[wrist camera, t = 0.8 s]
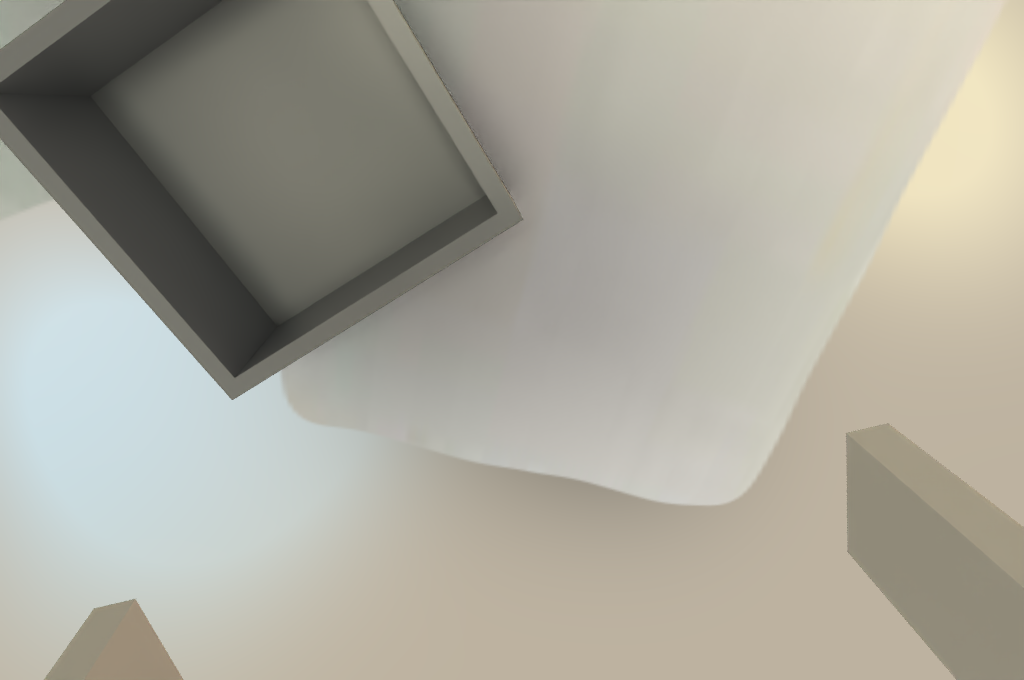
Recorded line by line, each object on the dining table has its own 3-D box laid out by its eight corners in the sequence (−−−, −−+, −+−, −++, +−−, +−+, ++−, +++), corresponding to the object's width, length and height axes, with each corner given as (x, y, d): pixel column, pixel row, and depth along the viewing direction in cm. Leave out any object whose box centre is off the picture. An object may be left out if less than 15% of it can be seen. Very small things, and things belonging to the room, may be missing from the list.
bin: (76, 90, 31) (-47, 85, 23) (335, -98, 29) (291, -169, 21) (279, 339, 36) (232, 400, 28) (509, 194, 34) (523, 219, 27)
